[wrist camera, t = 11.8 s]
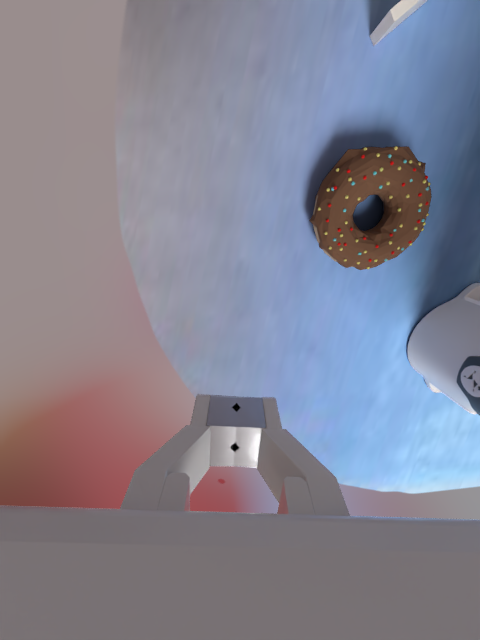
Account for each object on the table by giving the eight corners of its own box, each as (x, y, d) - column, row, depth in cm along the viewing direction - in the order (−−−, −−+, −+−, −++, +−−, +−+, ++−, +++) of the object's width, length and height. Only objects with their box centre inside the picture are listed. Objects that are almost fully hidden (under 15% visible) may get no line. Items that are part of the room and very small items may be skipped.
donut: (423, 235, 36) (451, 239, 31) (328, 280, 38) (341, 289, 34) (398, 121, 31) (426, 106, 26) (290, 180, 33) (299, 176, 29)
